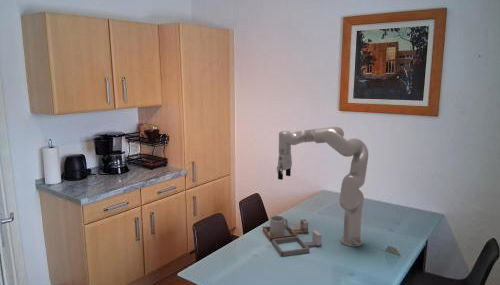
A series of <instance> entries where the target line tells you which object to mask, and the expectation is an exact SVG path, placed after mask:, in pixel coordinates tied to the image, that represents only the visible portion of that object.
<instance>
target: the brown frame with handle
mask: <svg viewBox="0 0 500 285" xmlns="http://www.w3.org/2000/svg"><path fill="white" fill-rule="evenodd" d="M299 225H300V226H299V228H297V229H292V227H291V226H289V225H288V224H287V228H286V229H285V230H286V231H287V232H288V233H289V234H284V236H276V237H272V236H271V235H270V225H268V226H263V227H262V232H263V234H264V235H265V236H266V238H267V239H268V240H269V242H270V243H272V239H280V238H288V237H296V236H298V235H300V234H301V235H302V234H307V233H308V234H309V222H308V221H307V220H306V218H300V223H299ZM284 227H285V224H284Z"/></svg>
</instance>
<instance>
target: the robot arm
mask: <svg viewBox="0 0 500 285" xmlns="http://www.w3.org/2000/svg"><path fill="white" fill-rule="evenodd" d="M344 137H345V132H344V129H342V128H341V127H339V126H331V127H322V128H321V127H320V128H314V129H303V130H299V131H293V132H290V131H288V130H281V131H279V133H278V156H277V157H278V159H277V166H276V172H277V180H281V181H282V180H284V173H283V172H284V171H285V176H286V177H291V175H292V174H291V172H292V171H291V170H292V166H293V159H292V158H293V157H292V146H296V145H299V144H303V143H311V142H312V143H314V142H315V143H316V144H324V143H326V144H327V145H328V146H329V147H331V148H332V149H334V150H335V151H336V152H337V153H338V154H340V155H341V156H343V157H346V158H347V157H352V160H351V163H350V170H349V173H348V174H347V175H345V176H344V177H343V179H342V182H341V187H340V192H339V193H340V194H339V204H340V207H341V208H342V209H343V210H344V214H343V215H344V216H343V236H341V237H340V239H339V240H340V243H341V244H343V245H345V246H348V247H353V248H354V247H355V248H356V247H360V246H362V245H363V244H364V240H363V239H362V237H361V233H362V231H361V230H362V228H361V226H362V215H363V205H364V201H365V198H364V193H363V192H362V190H360V188H362V187H363V186H364V184H365V181H366V174H367V169H368V167H367V166H368V160H369V150H368V147H367V145H366V144H365V143H364V141H362V140H361V139H359V138H350V139H348V140H347V139H346V138H344Z"/></svg>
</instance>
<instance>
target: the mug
mask: <svg viewBox="0 0 500 285" xmlns="http://www.w3.org/2000/svg"><path fill="white" fill-rule="evenodd" d="M269 221H270V222H269V226H270V231H269V234H270V235H271V236H272V237H276V236H285V230H287V229H286V228H287V225H288V220H287V218H285V217H283V216H281V215H273V216H271V217H270V219H269ZM284 225H285V227H284Z"/></svg>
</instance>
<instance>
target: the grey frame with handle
mask: <svg viewBox="0 0 500 285" xmlns="http://www.w3.org/2000/svg"><path fill="white" fill-rule="evenodd" d="M293 242H297V243H298V244H299V245H300V246H301V247H302V248H295V249H289V250H282V248H281V247H280V245H279V244H283V243H284V244H286V243H287V244H288V243H293ZM271 244H272V245H273V247H274V249H275V250H276V251H277V253H278V254H279V255H280V257H288V256H295V255H302V254H303V255H304V254H310V248H316V247H321V246H322V234H321V233H320V232H319V231H318V230H312V241H306V242H305V241H303V239H301V237H300V236H298V235H297V236H296V237H288V238H280V239H272V242H271Z"/></svg>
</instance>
